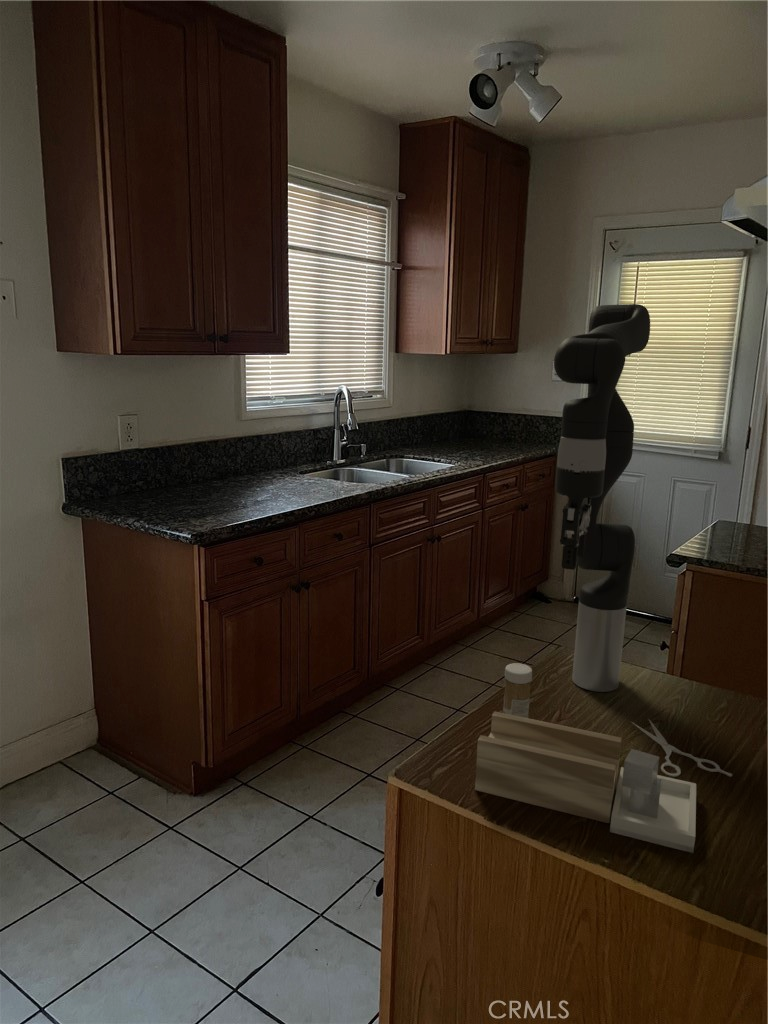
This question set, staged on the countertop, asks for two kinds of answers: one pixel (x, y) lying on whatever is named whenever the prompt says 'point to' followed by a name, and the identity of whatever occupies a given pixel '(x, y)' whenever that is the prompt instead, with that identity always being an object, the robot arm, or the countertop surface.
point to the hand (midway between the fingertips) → (572, 561)
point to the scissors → (670, 749)
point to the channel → (549, 766)
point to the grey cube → (640, 771)
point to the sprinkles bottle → (517, 689)
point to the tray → (659, 815)
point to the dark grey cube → (645, 801)
